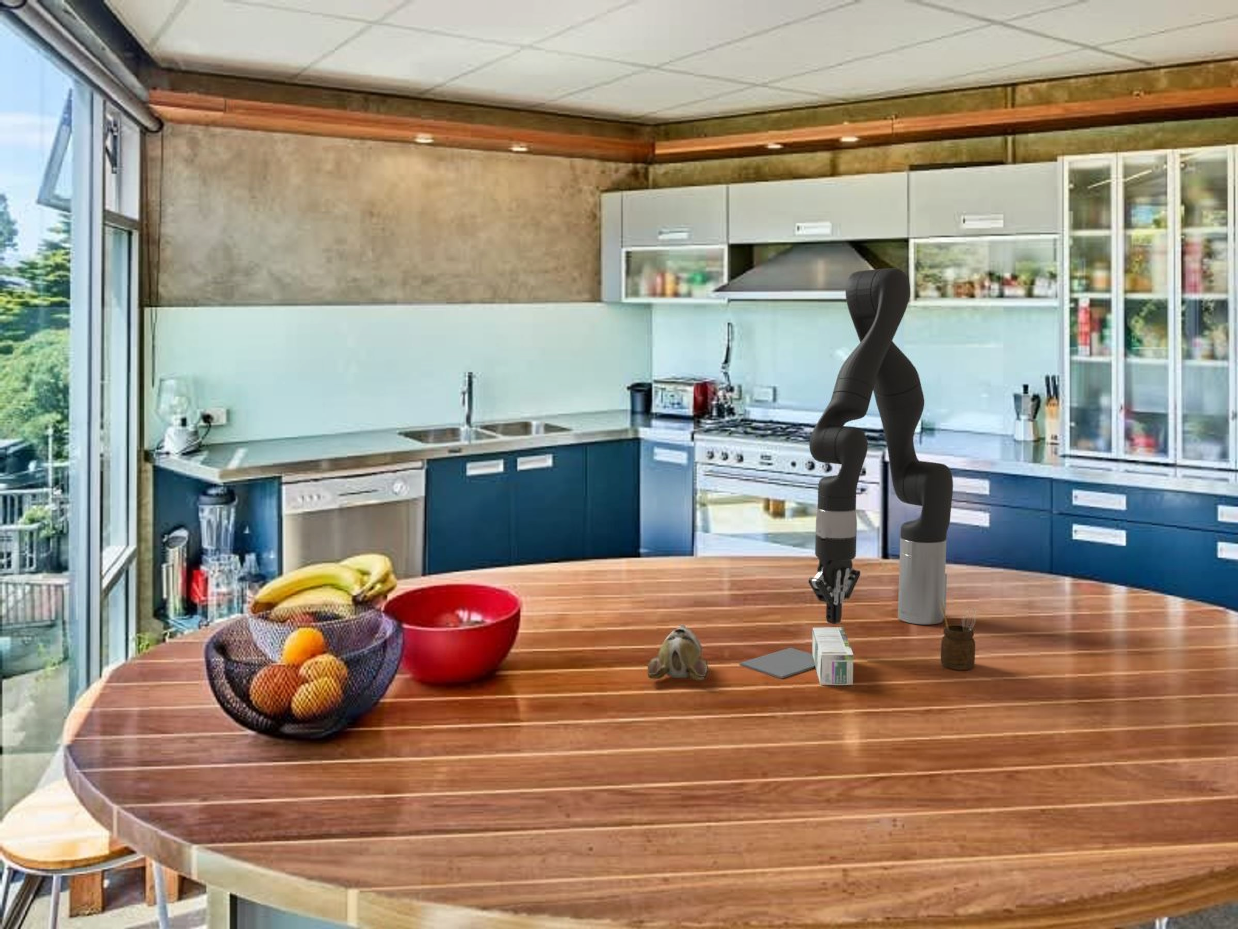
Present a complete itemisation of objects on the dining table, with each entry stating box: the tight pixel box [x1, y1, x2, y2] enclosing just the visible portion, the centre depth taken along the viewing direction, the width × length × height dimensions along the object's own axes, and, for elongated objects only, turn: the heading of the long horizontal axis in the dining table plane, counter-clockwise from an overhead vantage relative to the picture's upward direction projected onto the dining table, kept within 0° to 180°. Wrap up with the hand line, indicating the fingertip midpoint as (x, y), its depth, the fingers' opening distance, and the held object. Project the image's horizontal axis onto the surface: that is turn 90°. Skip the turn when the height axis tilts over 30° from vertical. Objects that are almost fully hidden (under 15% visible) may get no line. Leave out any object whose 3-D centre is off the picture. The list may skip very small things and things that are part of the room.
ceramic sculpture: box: [647, 623, 709, 681], centre depth 190 cm, size 11×9×15 cm
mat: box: [739, 647, 816, 679], centre depth 196 cm, size 14×10×1 cm
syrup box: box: [811, 626, 854, 686], centre depth 191 cm, size 6×6×14 cm
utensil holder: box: [940, 600, 978, 671], centre depth 194 cm, size 6×6×12 cm
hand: (833, 622), depth 202 cm, fingers closed
